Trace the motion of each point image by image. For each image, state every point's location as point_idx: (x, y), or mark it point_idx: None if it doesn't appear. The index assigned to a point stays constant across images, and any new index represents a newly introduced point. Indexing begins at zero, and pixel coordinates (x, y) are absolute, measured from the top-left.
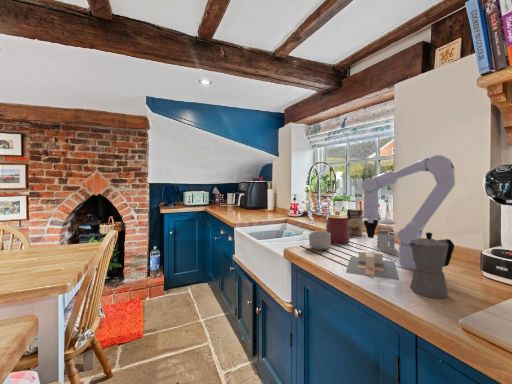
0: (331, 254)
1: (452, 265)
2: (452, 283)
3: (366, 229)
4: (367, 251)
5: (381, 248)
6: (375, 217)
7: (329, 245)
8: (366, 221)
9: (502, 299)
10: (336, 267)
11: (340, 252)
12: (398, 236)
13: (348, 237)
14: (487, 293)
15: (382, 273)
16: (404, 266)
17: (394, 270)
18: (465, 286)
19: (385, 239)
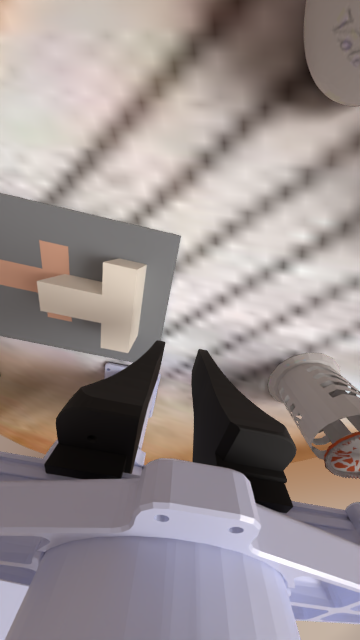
0: (219, 129)
1: (165, 453)
2: (47, 414)
3: (131, 364)
4: (123, 303)
5: (292, 371)
6: (13, 582)
7: (331, 94)
8: (100, 436)
9: (10, 439)
10: (13, 146)
11: (262, 192)
12: (47, 456)
13: None
14: (25, 435)
15: (23, 308)
16: (109, 375)
17: (66, 344)
18: (42, 424)
19: (304, 410)
